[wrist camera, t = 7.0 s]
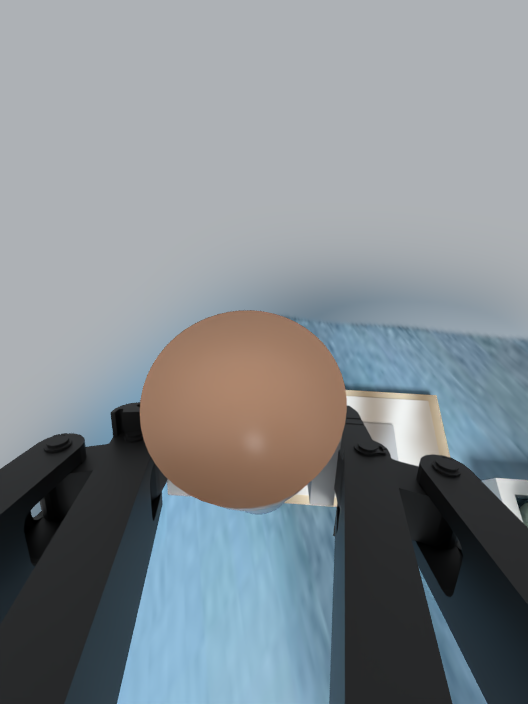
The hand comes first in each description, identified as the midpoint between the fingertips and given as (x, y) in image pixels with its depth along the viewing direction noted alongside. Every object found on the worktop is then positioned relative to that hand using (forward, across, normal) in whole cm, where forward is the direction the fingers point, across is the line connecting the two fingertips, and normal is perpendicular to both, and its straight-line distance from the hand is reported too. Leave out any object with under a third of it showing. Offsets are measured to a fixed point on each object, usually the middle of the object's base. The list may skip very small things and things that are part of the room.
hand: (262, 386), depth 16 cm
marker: (0, 0, -5) cm, 5 cm away
